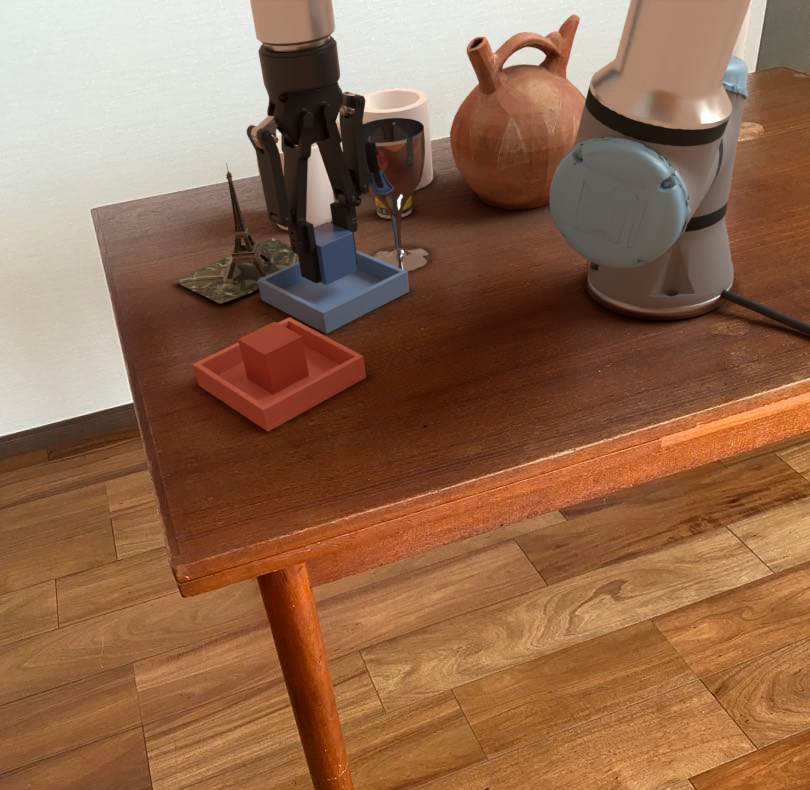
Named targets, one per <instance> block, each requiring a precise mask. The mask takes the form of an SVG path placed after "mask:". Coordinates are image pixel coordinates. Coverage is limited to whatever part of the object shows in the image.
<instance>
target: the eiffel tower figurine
mask: <svg viewBox="0 0 810 790" xmlns="http://www.w3.org/2000/svg"><path fill="white" fill-rule="evenodd" d="M225 165H226V170H227V172H226V175H225V176H226V177H225V178H226V180H227V183H228V188H229V194H230V202H231V208H232V215H233V224H234V230H233V234H234V246H233V249H232V252H231V255H229V256H227V257H225V258H222V259H220V260H217V261H215V262H213V263H211V264H209V265H206V266H205V267H204V266H203V267H202V268H200V269H198V270H196V271H194V272H191V273H190V274H188V275H185V276H183V277H182V278H179V279H177V280H175V281H174V282H175V283H177V284H178V285H181V286H182V287H184V288H186V289H188V290H191V291H192V292H195V293H196V294H199V295H200V296H203V297H205V298H208V299H210V300H212V301H213V302H216V303H218V304H219V305H220V304H223V303H226V302H230V301H232V300H235V299H238V298H241V297H244V296H245V295H248V294H251V293H253V292H256V291H257V290H259V285H258V280H259V279H261V278H263V277H266V276H268V275H270V274H272V273H275V272H277V271H279V270H281V269H283V268H286V267H288V266H290V265H292V264H294V263H297V262H299V257H298V254H296V253H294V252H293V251H292V249H291V245H288V244H286V243H284V242H283V241H280V240H278V239H276V238H274V237H270V238H268V239H265V240H263V241H261V242H258V241H255V240H254V239H253V237H252V235H251V232H250V231H249V226H247V225H246V222H245V219H244V217H243V213H242V210H241V207H240V202H239V199H238V196H237V193H236V189H235V186H234V182H233V175H232V173H231V172H230V171H229V167H228V163H227V162H226V163H225ZM242 239H243V241H244V242H243V241H242Z"/></svg>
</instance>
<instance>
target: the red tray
mask: <svg viewBox="0 0 810 790" xmlns="http://www.w3.org/2000/svg"><path fill="white" fill-rule="evenodd" d="M278 323H279V324H280V325H282V326H284V327H286V328H288V329H290V330H292V331H293V332H295V333H297V334H299V335H301V336H302V340H303V345H304V351H305V356H306V362H307V367H308V373H309V376H307V377H305V378H303V379H302V380H300V381H298V382H296V383H294V384H292V385H290V386H288V387H287V388H285V389H283V390H281V391H279V392H277V393H275V394H272V393H270V392H268V391H267V390H265V389H264V388H262V387H260V386H259V385H257V384H256V383H254V382H252V381H251V380H249V379H248V378H247V374H246V370H245V366H244V362H243V358H242V353H241V349H240V345H239V341H238V342H236V343H234V344H231V345H230V346H227V347H226V348H223V349H221V350H219V351H217V352H214V353H213V354H211V355H209V356H207V357H205V358H202V359H200V360H199V361H197V362H195V363H193V364H192V367H193V371H194V374H195V377H196V381H197V384H198V385H197V386H199V387H201V389H203V390H205V391H206V392H208V393H209V394H210V395H212V396H214V397H215V398H217V399H218V400H219V401H221V402H222V403H224V404H226V405H227V406H228V407H230V408H231V409H233V410H234V411H236V412H237V413H239V414H240V415H242V416H243V417H245V418H246V419H248V420H249V421H251V422H252V423H253V424H255V425H257V426H258V427H260V429H263V430H264V431H266V432H268V433H269V432H270V431H272V430H274V429H276V428H278V427H279V426H281V425H283V424H284V423H287V422H289V421H290V420H292V419H294V418H296V417H298V416H299V415H302V414H303V413H305V412H306V411H309V410H310V409H312V408H314V407H315V406H317V405H319V404H321V403H323V402H324V401H325V402H326V400H328V399H330V398H332V397H334V396H335V395H337V394H340V393H341V392H343V391H345V390H347V389H348V388H351V386H353V385H355V384H358V383H359V382H361V381H363V380H364V379H365V380H366V378H367V374H366V367H365V366H366V365H365V359H364V355H362V354H360V353H358V352H356V351H355V350H353V349H351V348H349V347H347V346H345V345H343V344H342V343H339V342H337V341H336V340H333V339H332V338H330V337H328V336H327V335H324V334H322V333H320V331H317V330H315V329H313V328H311V327H309V326H307V325H305V324H303V323H301V321H298V320H297V319H293V317H287V318H284V319H283V320H281V321H279V322H278Z"/></svg>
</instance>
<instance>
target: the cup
mask: <svg viewBox="0 0 810 790" xmlns="http://www.w3.org/2000/svg"><path fill="white" fill-rule="evenodd" d="M276 136H277V137H278V143H276V145H277V147H278V150H279V153H280V158H281V164H282V169H283V175H284V153H283V152H282V149H281V133H280V132H278V133H276ZM296 146H297V145H296ZM256 164H257V171H258V174H259V176H258V177H259V179H260V183H262V181H261V176H260V171H259V166H258V161H257V160H256ZM334 202H335V196H334V193H333V190H332V187H331V184H330V181H329V178H328V175H327V172H326V169H325V166H324V163H323V160H322V157H321V154H320V151H319V148H318V145H317V144H316V143H314V144H312V145H311V156H310V157H309V158H308V172H307V208H306V221H307V222H309V223H312V224H313V227H317V226H319V225H321V224H324V223H326V222H329V223H332V216H331V209H330V204H331V203H334ZM275 224H276V225H277V226H278V227H279V228H280V229H282V230H284V231H287V232H288V227H284V226H281V225H279V224H277V223H275Z"/></svg>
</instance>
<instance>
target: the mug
mask: <svg viewBox="0 0 810 790" xmlns="http://www.w3.org/2000/svg"><path fill="white" fill-rule="evenodd" d="M361 96H364V98H365V108H364V114H363V124H365V123H368V122H371V121H375V120H380V119H387V118H407V119H413V120H416V121H419V122H421V123H422V124H423V126H424V136H425V160H424V168H423V174H422V178H421V181H420V183H419V184H418V186H417V188H416V189H415V190H414V192H415V191H418V190H421V189H423V188H425V187H426V186H428V185H429V184H431V183H432V181H433V179H434V170H433V169H434V168H433V167H434V166H433V153H432V152H433V151H432V139H431V137H432V136H431V120H430V106H429V96H428V94H427V93H426V92H424V91H423V90H419V89H416V88H408V87H407V88H405V87H403V88H402V87H398V88H395V87H394V88H386V89H385V88H384V89H380V90H375V91H371V92H368V93H365V94H362V95H361ZM336 123H337V127H338V130H339V133H340V136H341V131H340V121H339V119H336ZM368 192H370V191H369V190H368Z"/></svg>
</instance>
